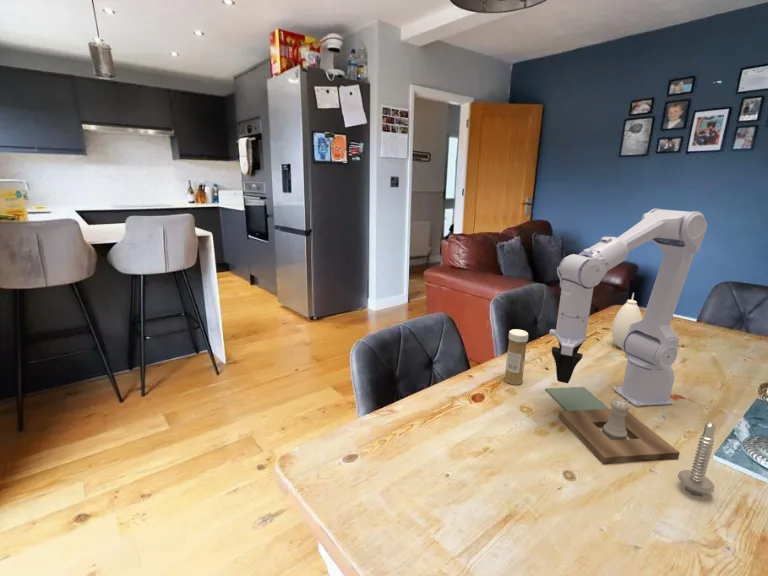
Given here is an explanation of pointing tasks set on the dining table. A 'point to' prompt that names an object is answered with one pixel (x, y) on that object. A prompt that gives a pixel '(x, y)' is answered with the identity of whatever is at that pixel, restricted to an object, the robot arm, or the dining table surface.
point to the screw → (700, 465)
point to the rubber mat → (575, 398)
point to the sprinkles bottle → (516, 356)
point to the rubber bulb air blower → (625, 320)
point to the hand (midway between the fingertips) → (564, 374)
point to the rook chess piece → (617, 421)
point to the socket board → (635, 449)
